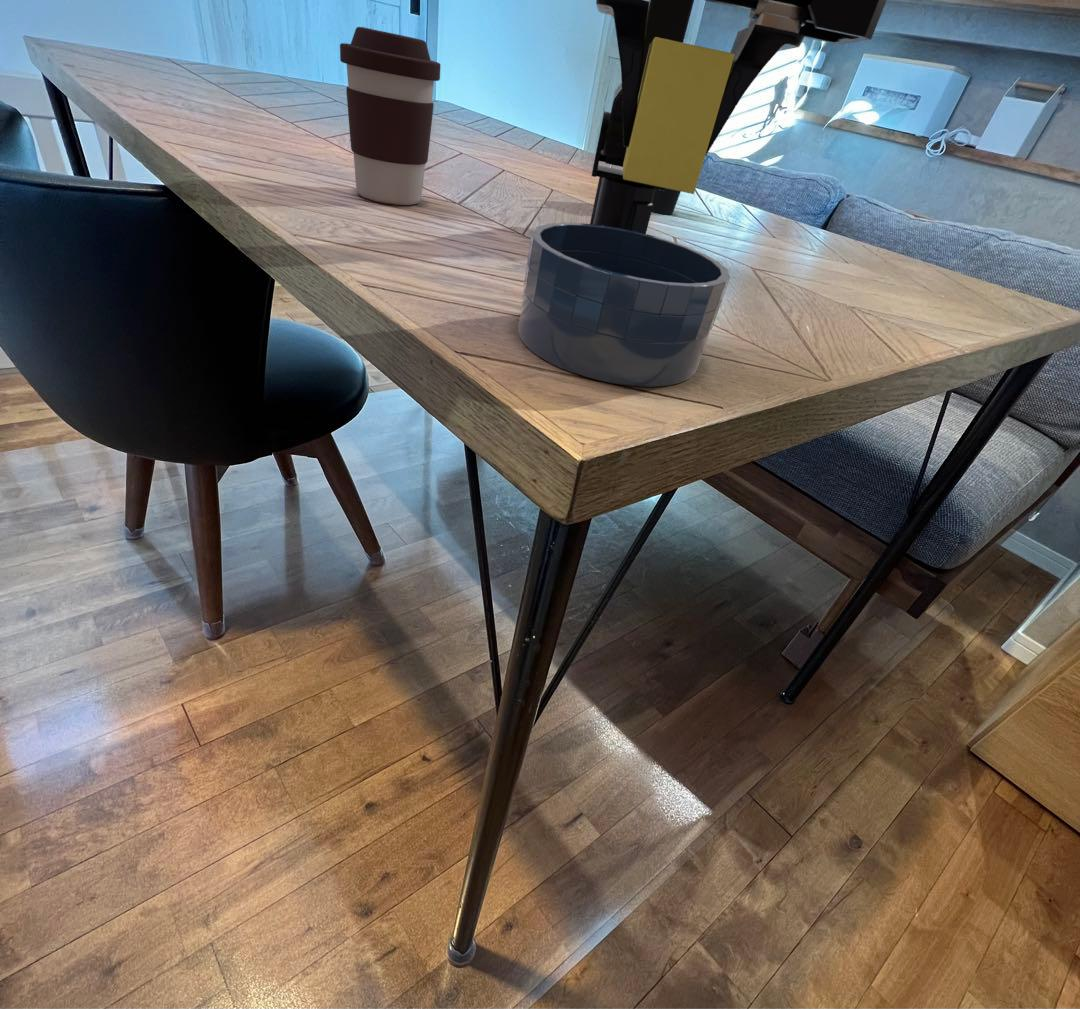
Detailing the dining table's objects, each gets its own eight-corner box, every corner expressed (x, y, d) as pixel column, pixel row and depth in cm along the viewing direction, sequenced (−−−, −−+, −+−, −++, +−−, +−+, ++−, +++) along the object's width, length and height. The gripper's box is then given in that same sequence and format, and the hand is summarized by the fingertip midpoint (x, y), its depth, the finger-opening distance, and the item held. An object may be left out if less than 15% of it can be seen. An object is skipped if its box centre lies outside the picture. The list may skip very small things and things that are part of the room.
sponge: (622, 166, 42) (649, 43, 38) (684, 179, 42) (718, 57, 38) (622, 179, 36) (654, 36, 32) (694, 194, 36) (735, 53, 32)
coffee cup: (390, 212, 62) (393, 34, 53) (324, 189, 66) (316, 17, 57) (450, 206, 70) (461, 48, 61) (388, 185, 73) (390, 32, 64)
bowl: (483, 315, 43) (494, 220, 39) (616, 305, 50) (636, 224, 46) (594, 399, 35) (622, 290, 31) (734, 373, 42) (770, 282, 38)
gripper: (552, -341, 23) (500, 133, 32) (1027, -238, 23) (838, 204, 32) (572, -221, 31) (527, 121, 41) (912, -147, 32) (790, 177, 41)
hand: (661, 153), depth 38 cm, fingers closed on sponge, 4 cm apart
